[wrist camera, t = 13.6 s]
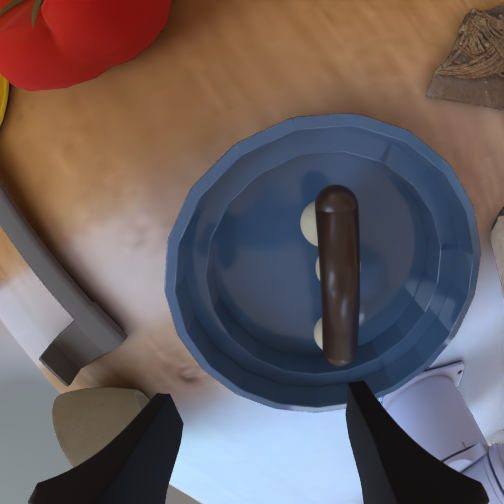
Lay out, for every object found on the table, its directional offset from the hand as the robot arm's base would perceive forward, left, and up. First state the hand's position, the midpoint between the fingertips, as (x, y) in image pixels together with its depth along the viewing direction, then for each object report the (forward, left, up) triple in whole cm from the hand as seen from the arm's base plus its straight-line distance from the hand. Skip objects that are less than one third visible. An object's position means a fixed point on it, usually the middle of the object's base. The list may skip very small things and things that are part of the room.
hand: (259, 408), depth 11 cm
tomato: (+20, +7, -9) cm, 23 cm away
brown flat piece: (+16, -24, -9) cm, 30 cm away
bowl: (+2, -4, -9) cm, 10 cm away
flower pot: (-9, +10, -7) cm, 16 cm away
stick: (+2, -4, -6) cm, 8 cm away
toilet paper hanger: (+5, +19, -6) cm, 20 cm away
